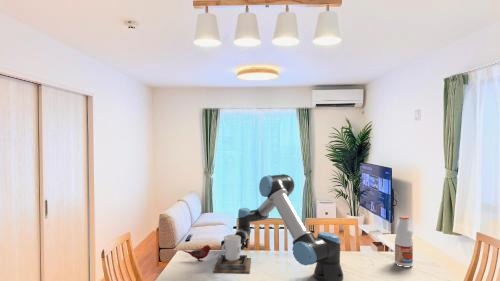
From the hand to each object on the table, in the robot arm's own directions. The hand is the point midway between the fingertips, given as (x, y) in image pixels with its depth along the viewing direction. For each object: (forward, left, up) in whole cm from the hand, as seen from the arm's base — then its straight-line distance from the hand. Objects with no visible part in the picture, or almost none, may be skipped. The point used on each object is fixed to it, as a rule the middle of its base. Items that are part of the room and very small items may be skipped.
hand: (230, 249), depth 186 cm
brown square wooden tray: (-1, -4, -11) cm, 12 cm away
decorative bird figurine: (+21, -10, -11) cm, 26 cm away
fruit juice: (-100, -10, -11) cm, 101 cm away
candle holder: (-1, -5, -7) cm, 8 cm away
